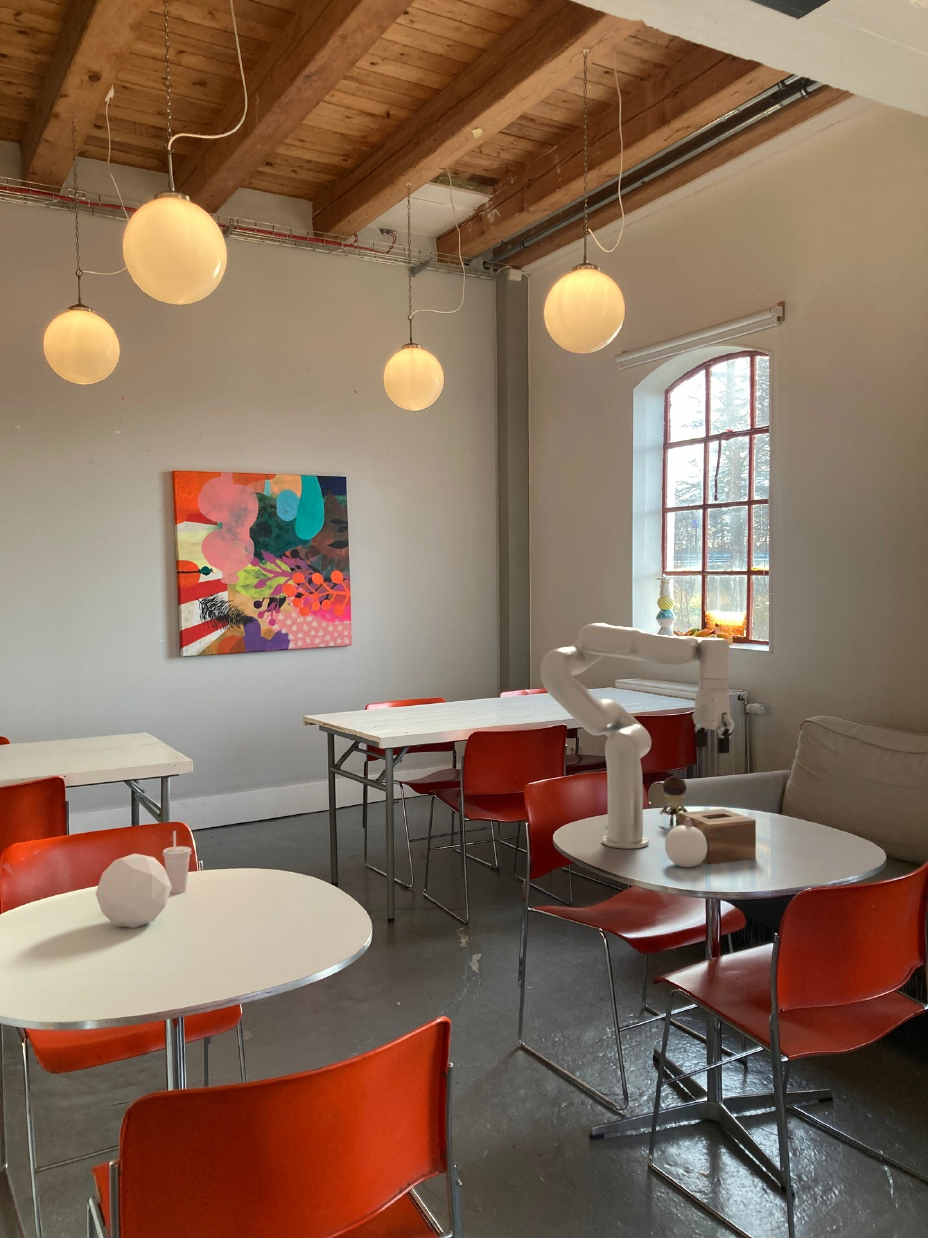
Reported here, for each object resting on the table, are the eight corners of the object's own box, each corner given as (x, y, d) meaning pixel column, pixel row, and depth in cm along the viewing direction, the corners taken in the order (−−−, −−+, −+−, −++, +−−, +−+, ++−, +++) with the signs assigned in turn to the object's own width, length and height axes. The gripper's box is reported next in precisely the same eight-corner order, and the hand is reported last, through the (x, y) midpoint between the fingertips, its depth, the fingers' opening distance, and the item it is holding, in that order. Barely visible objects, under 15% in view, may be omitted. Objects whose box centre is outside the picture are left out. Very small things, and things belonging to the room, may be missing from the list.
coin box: (678, 850, 244) (678, 812, 244) (723, 845, 249) (723, 808, 249) (709, 864, 231) (709, 824, 231) (755, 858, 236) (755, 820, 235)
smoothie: (170, 886, 215) (169, 827, 215) (196, 887, 214) (195, 828, 214) (158, 895, 208) (157, 834, 208) (185, 896, 208) (184, 835, 208)
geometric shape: (146, 941, 194) (184, 876, 200) (143, 939, 180) (184, 869, 187) (85, 910, 193) (126, 845, 199) (77, 906, 179) (121, 837, 186)
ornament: (701, 860, 234) (701, 814, 234) (711, 872, 224) (711, 823, 224) (661, 860, 234) (661, 814, 234) (670, 872, 224) (669, 823, 224)
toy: (689, 823, 274) (689, 773, 274) (690, 829, 267) (690, 777, 267) (659, 821, 276) (659, 772, 276) (659, 827, 269) (659, 776, 269)
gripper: (682, 682, 246) (681, 745, 247) (721, 688, 230) (719, 756, 230) (706, 681, 249) (704, 744, 249) (746, 688, 232) (744, 755, 233)
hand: (712, 750), depth 240 cm, fingers open, 9 cm apart
